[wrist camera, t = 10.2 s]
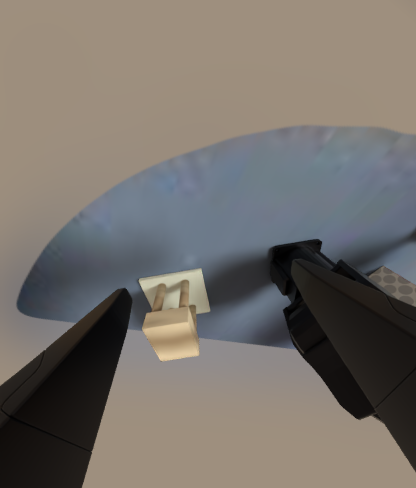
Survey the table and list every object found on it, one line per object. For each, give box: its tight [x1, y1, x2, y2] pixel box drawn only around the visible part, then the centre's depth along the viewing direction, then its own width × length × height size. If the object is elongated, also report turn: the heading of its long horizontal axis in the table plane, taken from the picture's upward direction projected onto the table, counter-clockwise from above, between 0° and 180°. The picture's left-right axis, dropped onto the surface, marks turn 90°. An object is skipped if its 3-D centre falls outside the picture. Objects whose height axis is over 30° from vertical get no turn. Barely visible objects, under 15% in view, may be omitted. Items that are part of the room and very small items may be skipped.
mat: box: [139, 268, 210, 314], centre depth 26 cm, size 9×9×1 cm
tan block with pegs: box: [142, 279, 199, 361], centre depth 22 cm, size 7×5×7 cm
